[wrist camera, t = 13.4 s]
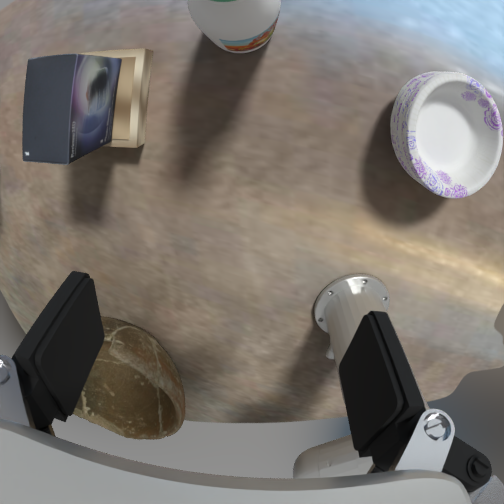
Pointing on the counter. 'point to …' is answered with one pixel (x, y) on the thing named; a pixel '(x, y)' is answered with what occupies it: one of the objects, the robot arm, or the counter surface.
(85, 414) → the bowl
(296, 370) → the counter surface
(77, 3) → the counter surface
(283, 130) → the counter surface
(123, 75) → the base
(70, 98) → the small box
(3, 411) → the robot arm
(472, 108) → the paper bowls
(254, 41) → the milk bottle
